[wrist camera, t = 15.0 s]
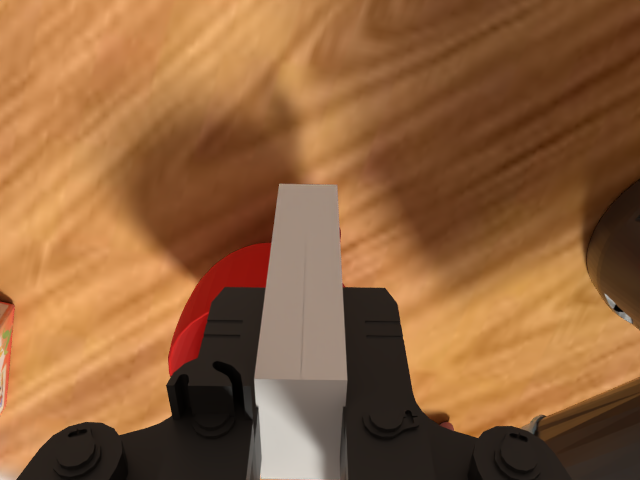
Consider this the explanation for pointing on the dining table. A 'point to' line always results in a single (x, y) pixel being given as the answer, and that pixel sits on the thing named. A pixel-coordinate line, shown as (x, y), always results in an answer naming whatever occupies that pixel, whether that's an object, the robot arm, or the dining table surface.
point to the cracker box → (5, 349)
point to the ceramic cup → (229, 272)
